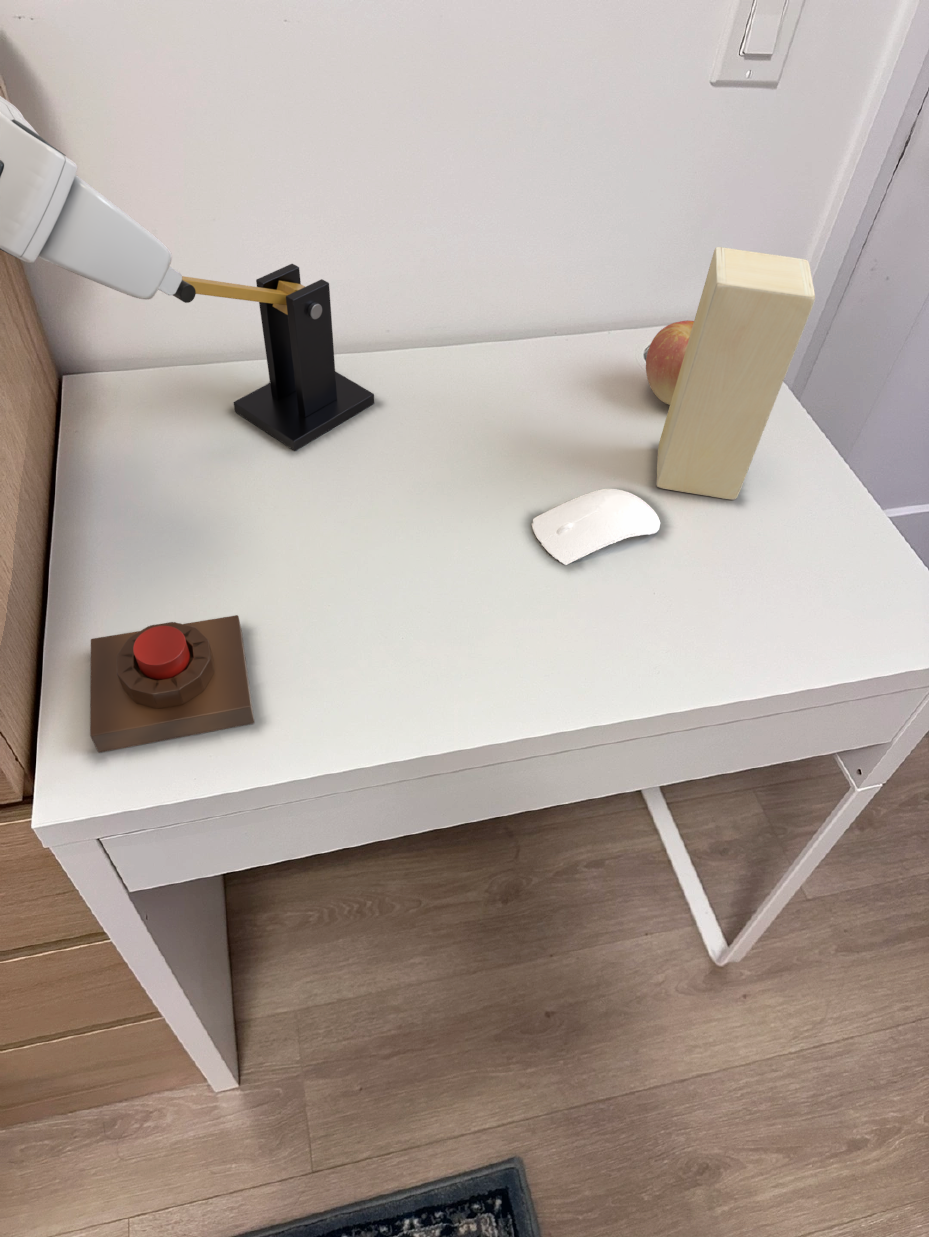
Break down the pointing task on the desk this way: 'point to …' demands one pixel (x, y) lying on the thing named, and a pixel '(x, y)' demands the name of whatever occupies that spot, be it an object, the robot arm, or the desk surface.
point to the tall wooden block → (733, 369)
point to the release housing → (169, 687)
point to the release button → (161, 652)
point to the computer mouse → (593, 523)
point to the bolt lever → (236, 291)
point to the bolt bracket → (300, 368)
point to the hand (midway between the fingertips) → (134, 259)
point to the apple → (667, 358)
